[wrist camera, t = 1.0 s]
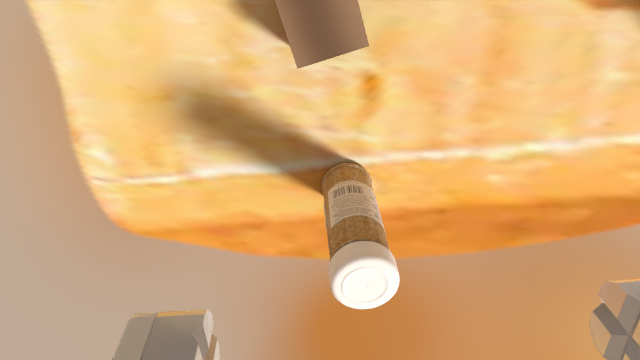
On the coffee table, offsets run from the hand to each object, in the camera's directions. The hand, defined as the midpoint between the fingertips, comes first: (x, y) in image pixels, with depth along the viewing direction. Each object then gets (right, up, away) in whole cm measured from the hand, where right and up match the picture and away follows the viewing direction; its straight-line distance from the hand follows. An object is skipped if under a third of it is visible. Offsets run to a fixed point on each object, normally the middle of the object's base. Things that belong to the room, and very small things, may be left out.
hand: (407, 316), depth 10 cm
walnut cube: (-2, +16, +24) cm, 29 cm away
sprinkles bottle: (+1, +3, +32) cm, 32 cm away
